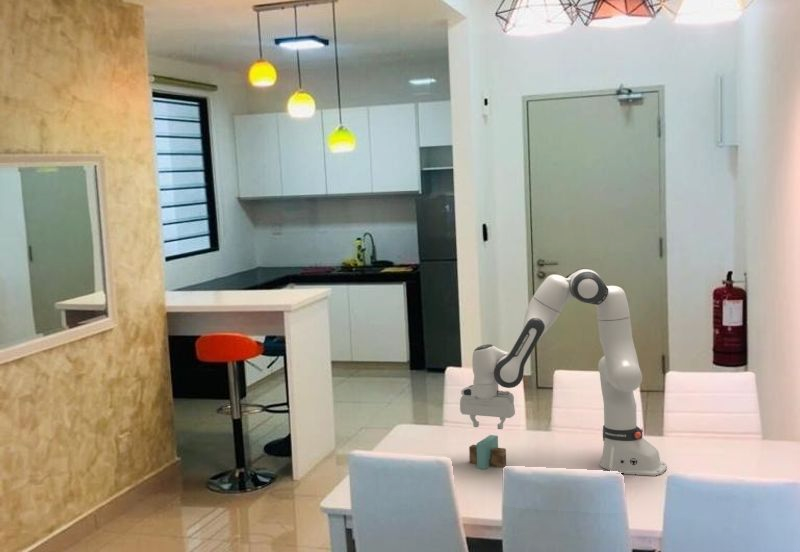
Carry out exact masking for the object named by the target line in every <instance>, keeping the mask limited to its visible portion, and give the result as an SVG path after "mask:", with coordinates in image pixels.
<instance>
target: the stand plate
mask: <svg viewBox="0 0 800 552" xmlns="http://www.w3.org/2000/svg"><path fill="white" fill-rule="evenodd" d="M468 449H469V451H468V452H469V455H468V456H469V463H470V464H474V465H477V444H471V445H470V446H469V448H468ZM490 466H491V467H497V468H504V467H506V466H507V448H505V447H498V448H497V447H495V448H493V449H492V458H491V459H489V467H490ZM503 466H504V467H503Z"/></svg>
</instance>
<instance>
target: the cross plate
mask: <svg viewBox="0 0 800 552" xmlns="http://www.w3.org/2000/svg"><path fill="white" fill-rule="evenodd" d="M476 445H477V464H476V466H477V467H476V468H477V469H479V470H486V469H488V468H489V467H490V466H489V459H491V458H492V449H493V448H495V447H497V448H499V437H498V435H494V434H490V435H489V434H488V436H486V437H485V438H483V439H482V440H480V441H478V442H477V443H476Z"/></svg>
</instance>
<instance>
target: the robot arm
mask: <svg viewBox="0 0 800 552" xmlns="http://www.w3.org/2000/svg"><path fill="white" fill-rule="evenodd" d="M626 295H627V294H626V292H625V290H624V289H623V288H622V287H620V286H617V285H606V283H605V282H604V280H602V278H601V276H600V275H599V274H598V273H597V272H596V271H594V270H592V269H591V268H583V267H582V268H579V269H576V270H574V271H573V272H572V273H570V274H567V275H565V276H562V275H560V274H550V275H548V276H547V277H546V278H545V279H544V280H543V281H542V283H541V284H540V285H539V287H538V288H537V290H536V291H535V293H534V294H533V296H532V298H531V299H530V302H529V303H528V305H527V308H526V311H525V314H524V319H523V320H524V321H523V325H522V329H521V330H520V331H521V332H520V334H519V335H518V338H517V340H516V341H515V343H514V344H513V346H512V348H511V350H510V351H505V350H504V349H503V350H502V349H501V348H498V347H496V346H495V345H494V344H492V343H491V344H484V345H480V346H477V347H476V348H475V349H474V350H473V352H472V363H471V364H472V373H473V381H472V382H473V384H471V385H469V386H466V387H464V388H463V389H461V390H460V392H461V396H460V399H459V412H460V413H461V414H462V415H466V416H467V415H468V416H469V418H470V420H471V421H472V426H473V427H474V428H478V427H480V424H479V423H480V421H477V419H476V416H480V417H481V416H482V417H493V418H499V421H500V423H497V426H496V427H497V430H503V429H504V423H505V421H506V419H511V418H512V417H514V416H515V414H516V410H515V409H516V408H515V405H514V402H515V401H514V400H515V399H514V398H515V397H514V394H513V393H512V392H510V391H508V390H505V391H503V390H500V389H499V386H501V387H502V388H506V389H512V388H515V387H517V386H519V384H521V382H522V381H523V378H524V371H525V365H526V363H527V361H528V359H529V357H530V355H531V354H532V352H533V350H534V348H535V347H536V345H537V344H538V342H539V340H540V339H541V338H542V336H544V334H545V333H546V332H547V331H548V330H549V329H550V328H551V326H552V325H553V324H554V323H555V322H556V320H557V319H558V317H559V316H560V315H561V312H562V311H563V309H564V307H565V305H566V304H567V303H568V302H569V301H570V300H573V299H576V300H578V301H579V302H582V303H584V304H591V305H594V306H595V309H596V315H597V317H596V318H597V327H598V335H599V343H600V345H601V347H602V352H603V356H602V357H601V358H600V359H599V361H598V366H597V368H598V372H599V378H600V379H599V381H600V389H601V395H602V399H603V401H602V402H603V422H604V424H603V426H602V441H603V448H602V454H601V458H600V459H601V460H600V463H599V465H600V467H601V468H603V469H605V470H608V471H609V470H611V471H618V472H622V473H624V474H623V475H635V474H636V475H639V476H652V477H657V476H660V475H662V474H664V473H665V472H666V471H667V469H668V468H667V467H668V465H667V463H666V462H665V461H661V458H660V454H659V453H660V452H659V450H658V449H657V447H655V446H654V445H653V444H651V443H650V442H649V441H647V439H646V438H644V437H643V432H644V428H643V427H642V428H640V427H639V426H638V424H637V403H636V398H635V395H634V391H636V390H638V388H640V386H641V384H642V382H643V373H642V370H641V367H640V365H639V364H640V363H639V358H638V355H637V350H636V347H635V344H634V339H633V331H632V330H633V329H632V323H631V322H632V321H631V313H630V306H629V303H628V298H627V296H626ZM666 468H667V469H666ZM665 470H666V471H665ZM664 471H665V472H664ZM663 472H664V473H663ZM659 474H660V475H659ZM656 475H657V476H656Z"/></svg>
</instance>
